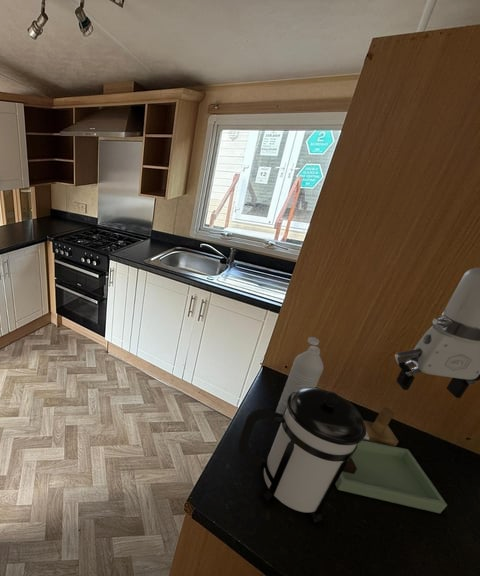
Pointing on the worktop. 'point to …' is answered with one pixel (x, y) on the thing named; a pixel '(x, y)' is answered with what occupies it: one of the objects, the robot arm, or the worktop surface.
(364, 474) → the tray
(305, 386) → the water bottle
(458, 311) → the robot arm
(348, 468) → the brown square block
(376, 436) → the brush
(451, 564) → the worktop surface
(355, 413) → the coffee press
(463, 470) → the worktop surface
